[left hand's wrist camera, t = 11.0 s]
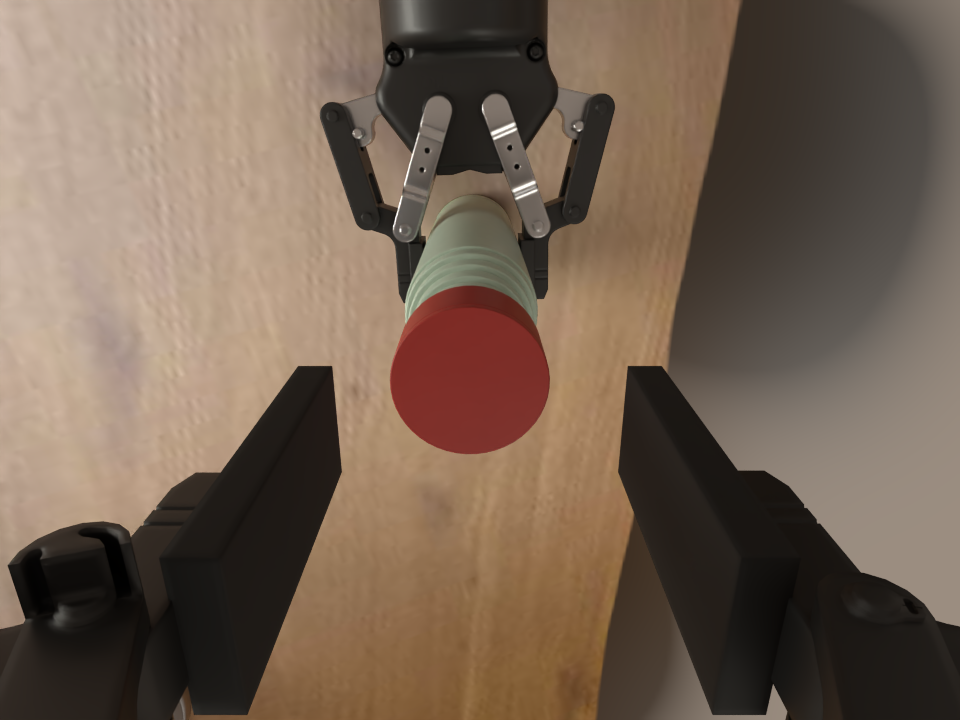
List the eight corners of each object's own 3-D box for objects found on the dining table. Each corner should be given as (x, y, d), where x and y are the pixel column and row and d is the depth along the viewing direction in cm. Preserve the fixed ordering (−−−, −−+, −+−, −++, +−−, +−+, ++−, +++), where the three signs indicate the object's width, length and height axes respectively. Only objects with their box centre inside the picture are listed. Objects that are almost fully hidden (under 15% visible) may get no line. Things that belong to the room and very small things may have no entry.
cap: (400, 281, 18) (390, 302, 16) (547, 288, 18) (557, 311, 16) (398, 414, 20) (389, 450, 18) (535, 421, 20) (542, 458, 18)
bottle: (433, 192, 38) (380, 286, 16) (515, 197, 38) (568, 296, 16) (431, 272, 39) (380, 453, 18) (509, 277, 40) (550, 461, 18)
